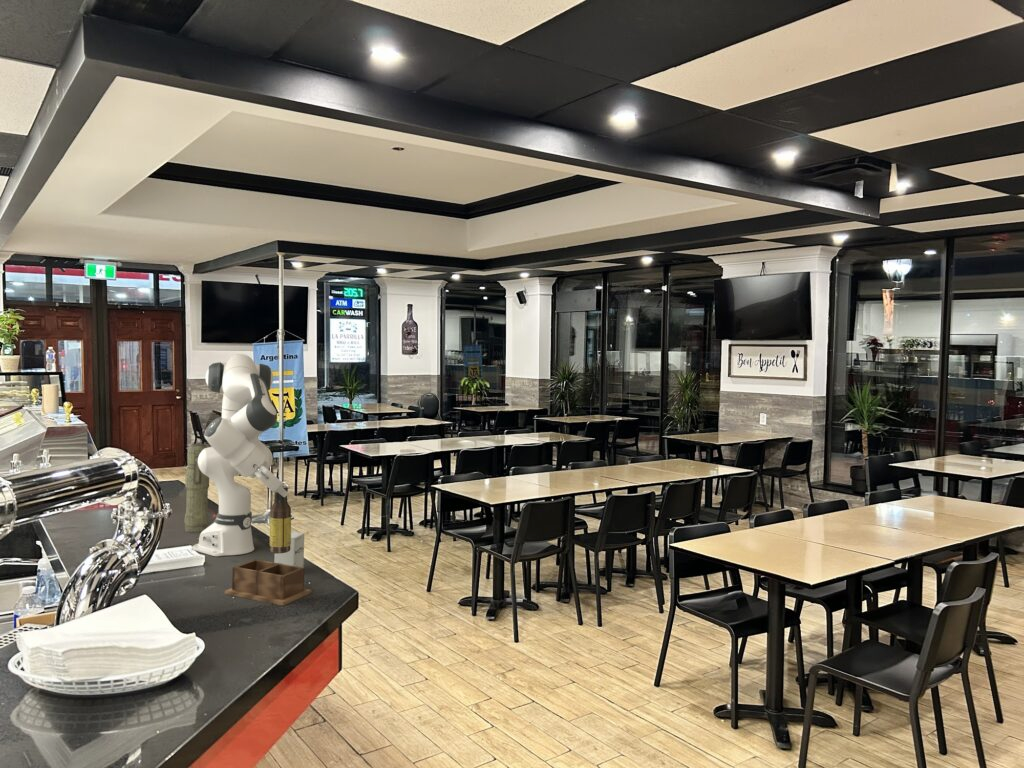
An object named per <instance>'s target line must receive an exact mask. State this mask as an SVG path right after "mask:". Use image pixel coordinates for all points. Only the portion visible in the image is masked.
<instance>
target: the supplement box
mask: <svg viewBox="0 0 1024 768" xmlns="http://www.w3.org/2000/svg"><path fill="white" fill-rule="evenodd" d="M304 554H305V532H298V531H297V532H296V531H291V545H290V551H289V552H286V553H280V554H276V553H274V560H273V561H274V563H279V564H285V565H290V566H296V567H301V568H304V563H305V562H304V560H305V557H304V556H305V555H304Z"/></svg>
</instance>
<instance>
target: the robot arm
mask: <svg viewBox="0 0 1024 768" xmlns="http://www.w3.org/2000/svg"><path fill="white" fill-rule="evenodd" d="M204 379H205V384H206V386H207V389H209V391H210V392H213V393H218V394H219V393H223V394H222V395H223V396H222V402H221V416H219V417H217V418H215V419H213V420H212V421H211V422H210V423H209V425H208V426H207V427H206V428H205V429H204V433H203V437H204V439H205V440H206V441H207V443H208V444H209V445H210V446H209V447H208V446H207V448H204V449H203V450H202V451H201V453H200V454H199V457H198V467H199V469H200V471H201V472H202V473H203V474H205V475H206V476H208V477H209V480H211V481H212V484H213V485H214V486H215V488H216V491H217V497H218V498H217V500H218V512H217V513H214V514H212V518H215V519H214V521H213V522H212V523H211V524H210V525H208V527H207V528H206V529H205V530H203V531H202V532H200V534H199V537H198V543H195V544H193V545H192V546H191V550H192V549H193V551H195V552H199V553H201V554H202V553H203V554H205V555H209V556H213V557H223V556H237V555H244V554H248V553H251V552H253V551H254V550H255V546H254V542H253V541H254V540H253V534H252V522H253V521H252V519H253V515H252V514H253V512H252V511H251V506H252V492H251V490H250V489H249V487H248V486H246V485H244V484H242V483H239V482H236V480H235V476H242V477H243V478H248V477H250V478H251V479H255V478H256V479H258V480H259V481H260V482H261V483H262V484H263V485H265V486H266V487H267V488H268V489H269V490H270V491H271V492H273V493H274V494H275V493H276V492H278V493H279V494H281V495H282V496H283V497H286V496H287V497H288V495H289V492H287V491H286V490H285V489H284V488H283V487H282V486H284V484H283V482H282V481H281V480H280V479H279V478H278V477H277V476H276V475H275V474H274V473H272V472H271V471H270V468H271V467H272V463H273V459H274V458H273V453H272V452H271V449H270V448H269V447H268V446H266V445H265V444H264V443H263V442H262V441H261V440H260V439H259V436H260V435H262V434H263V433H265V432H266V431H268V430H270V429H271V428H273V427H274V426H275V425H276V424H277V421H278V411H277V408H276V407H275V405H274V404H273V401H272V398H271V395H270V394H271V393H270V392H269V391H270V390H271V387H272V386H273V383H274V375H273V372H272V369H271V367H270V366H269V365H267V364H265V363H255V361H254V360H253V359H252V357H250V356H249V355H246V354H243V353H240V354H239V353H238V354H234V355H232V356H230V357H229V358H228V360H227V361H226V362H221V361H220V362H219V361H217V362H214V363H212V364H210V365H209V366H208V368H207V370H206V372H205V378H204Z"/></svg>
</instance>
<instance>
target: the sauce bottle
mask: <svg viewBox="0 0 1024 768" xmlns="http://www.w3.org/2000/svg"><path fill="white" fill-rule="evenodd" d="M282 487H283V488H284V489H285V490H286V491H287V492H288V491H289V487H288V486H287V485H283V486H282ZM288 493H289V492H288ZM269 513H270V514H269V551H270V553H273V554H275V553H276V554H280V553H286V552H289V551H290V545H291V532H292V508H291V506H290V504H289V502H288V495H287V496H286V497H283V496H282V495H281V494H279V493H278V492H276V493H274V499H273V503H272V505H271V507H270V512H269Z"/></svg>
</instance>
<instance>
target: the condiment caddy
mask: <svg viewBox="0 0 1024 768" xmlns="http://www.w3.org/2000/svg"><path fill="white" fill-rule="evenodd" d="M231 577H232V579H231V580H232V582H231V584H232V585H231V588H228V589H225V590H224V594H225V595H229V596H233V597H239V598H243V599H249V600H253V601H258V602H263V603H267V604H268V603H269V604H272V603H273V604H272V605H278V606H281V605H283V606H286V605H289V604H290V603H292V602H295V601H296V600H298V599H302V598H303V597H304V596H307V595H309V594H311V593H312V590H311V589H309V588H305V567H303V568H301V567H296V566H290V565H285V564H279V563H274V562H272V561H269V560H268V561H266V560H261V559H256V558H255V559H252V560H250V561H247V562H244V563H240V564H238V565H235V566H233V567H232V576H231ZM283 606H282V607H283Z"/></svg>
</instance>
